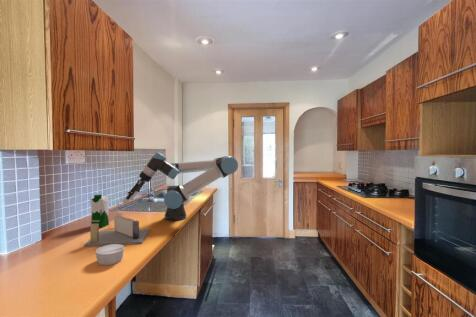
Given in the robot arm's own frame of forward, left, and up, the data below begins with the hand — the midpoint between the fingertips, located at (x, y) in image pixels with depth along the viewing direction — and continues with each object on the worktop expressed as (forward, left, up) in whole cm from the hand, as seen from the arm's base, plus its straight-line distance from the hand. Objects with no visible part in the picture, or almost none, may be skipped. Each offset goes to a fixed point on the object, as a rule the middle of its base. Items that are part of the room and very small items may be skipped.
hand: (127, 201), depth 156 cm
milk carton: (+16, -1, -16) cm, 23 cm away
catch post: (+7, +31, -15) cm, 35 cm away
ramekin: (-7, +52, -16) cm, 55 cm away
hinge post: (-12, +28, -15) cm, 34 cm away
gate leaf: (-4, +21, -14) cm, 25 cm away
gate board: (-2, +23, -15) cm, 28 cm away
